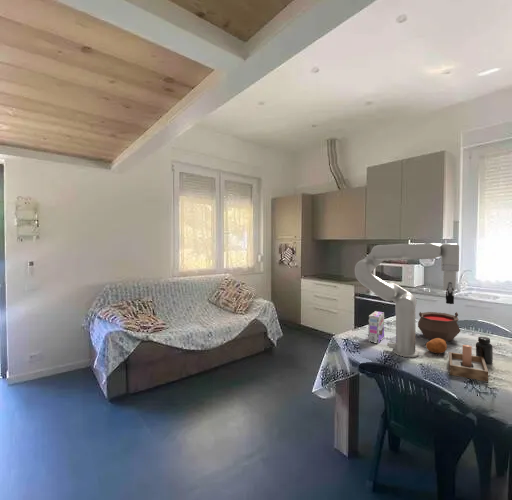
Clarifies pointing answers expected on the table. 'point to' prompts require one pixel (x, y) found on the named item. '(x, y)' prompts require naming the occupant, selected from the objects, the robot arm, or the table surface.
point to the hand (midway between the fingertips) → (449, 301)
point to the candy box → (376, 326)
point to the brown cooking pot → (439, 325)
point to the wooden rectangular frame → (473, 372)
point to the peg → (467, 356)
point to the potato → (436, 345)
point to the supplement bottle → (484, 349)
